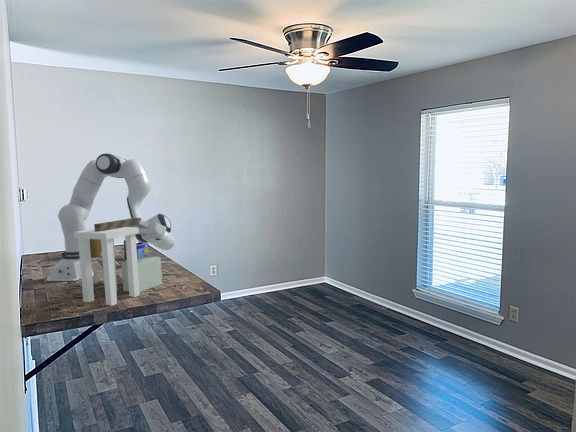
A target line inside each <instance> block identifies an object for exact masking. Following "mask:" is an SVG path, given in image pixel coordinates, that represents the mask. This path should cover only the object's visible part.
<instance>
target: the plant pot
mask: <svg viewBox="0 0 576 432" xmlns="http://www.w3.org/2000/svg"><path fill="white" fill-rule="evenodd" d="M89 241H90V253H91V258H96V257H95V256H98V257H100V256H101V255H102V246H101V239H89Z"/></svg>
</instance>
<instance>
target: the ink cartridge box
mask: <svg viewBox="0 0 576 432" xmlns="http://www.w3.org/2000/svg"><path fill="white" fill-rule="evenodd" d="M149 244H150V243H149V242H148V243H143V242H140V241H138V243H136V250H137V259H138V258H142V257H145V256H148V257H150V251H149V249H150V247H149Z"/></svg>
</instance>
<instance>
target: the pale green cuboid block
mask: <svg viewBox="0 0 576 432" xmlns="http://www.w3.org/2000/svg"><path fill="white" fill-rule="evenodd" d="M120 264H121V277H122V289H123V290H122V291H123V292H129V283H128V269H127V261H124V262H121V263H120ZM137 264H138V278H139V292H140V293H141V292H144V291H147V290H149V289H151V288H155V287H157V286H160V285H162V284H163V276H162V275H163V272H162V260H161V257H160V256H149V257H148V256H145V257H142V258H138V259H137Z"/></svg>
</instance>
